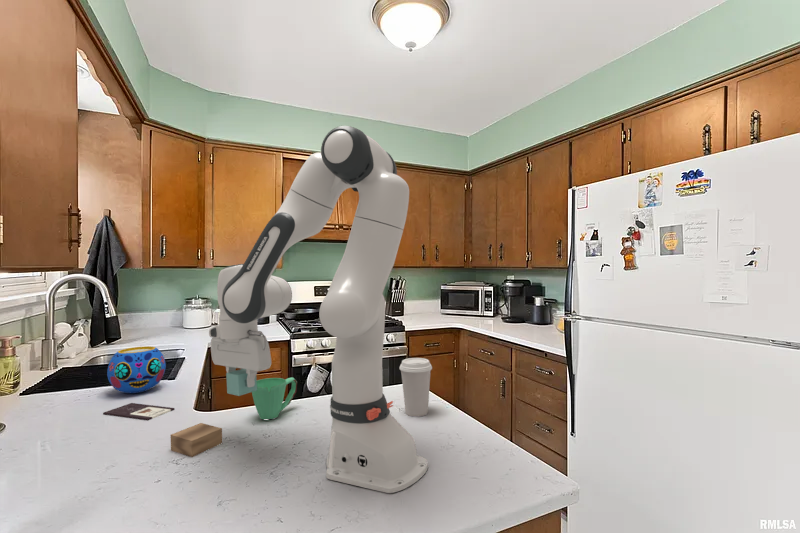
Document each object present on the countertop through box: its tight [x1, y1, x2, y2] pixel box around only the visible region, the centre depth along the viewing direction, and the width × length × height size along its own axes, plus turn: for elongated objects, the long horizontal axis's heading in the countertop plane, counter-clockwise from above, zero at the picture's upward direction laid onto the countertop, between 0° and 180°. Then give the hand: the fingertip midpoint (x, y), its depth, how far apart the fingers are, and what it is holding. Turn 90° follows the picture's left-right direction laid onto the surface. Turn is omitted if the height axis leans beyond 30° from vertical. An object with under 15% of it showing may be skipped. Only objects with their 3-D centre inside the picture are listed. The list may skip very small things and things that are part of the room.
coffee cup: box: [399, 357, 433, 418], centre depth 117 cm, size 10×10×15 cm
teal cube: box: [225, 368, 258, 397], centre depth 100 cm, size 5×5×5 cm
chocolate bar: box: [102, 402, 175, 421], centre depth 122 cm, size 9×1×18 cm
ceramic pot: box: [106, 345, 167, 394], centre depth 144 cm, size 18×18×15 cm
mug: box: [251, 377, 298, 420], centre depth 118 cm, size 15×10×10 cm
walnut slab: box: [170, 422, 223, 458], centre depth 97 cm, size 8×8×4 cm
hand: (242, 385), depth 100 cm, fingers closed on teal cube, 5 cm apart
